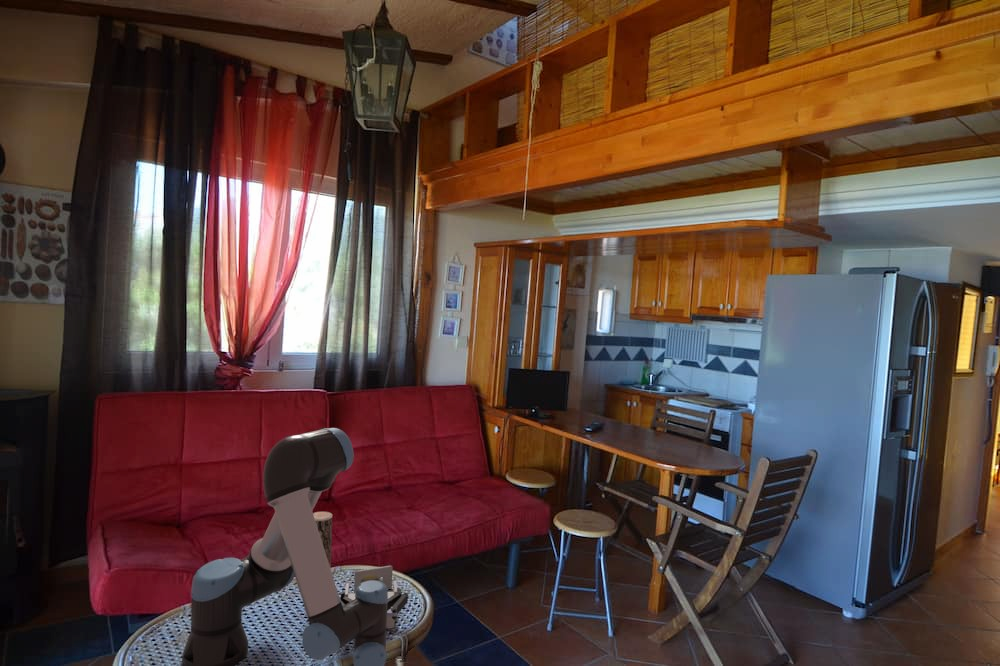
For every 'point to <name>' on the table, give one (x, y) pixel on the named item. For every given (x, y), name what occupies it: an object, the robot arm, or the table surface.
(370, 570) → the cassette
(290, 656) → the table surface
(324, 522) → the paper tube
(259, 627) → the table surface
